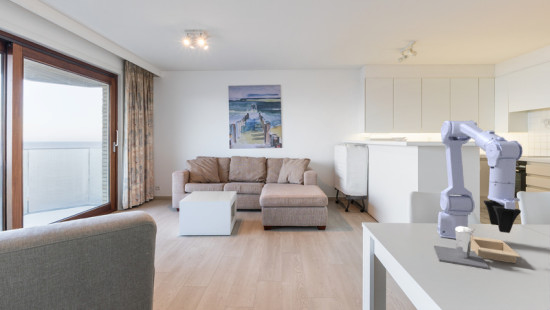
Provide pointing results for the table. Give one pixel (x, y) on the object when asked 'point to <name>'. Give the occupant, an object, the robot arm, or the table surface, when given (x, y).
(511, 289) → the table surface
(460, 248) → the milkshake
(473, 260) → the mat
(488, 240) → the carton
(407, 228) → the table surface
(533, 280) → the table surface
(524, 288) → the table surface
